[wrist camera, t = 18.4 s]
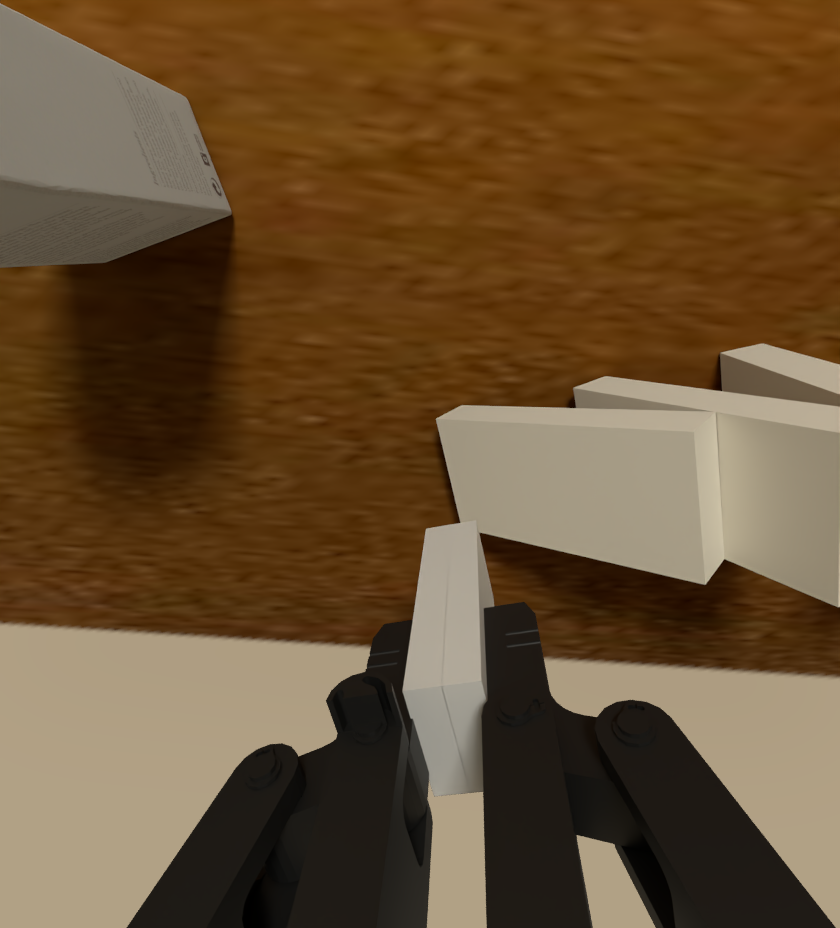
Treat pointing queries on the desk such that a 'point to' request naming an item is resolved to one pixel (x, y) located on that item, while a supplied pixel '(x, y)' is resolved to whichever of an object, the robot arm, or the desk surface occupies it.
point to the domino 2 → (761, 476)
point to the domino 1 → (592, 482)
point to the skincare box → (92, 154)
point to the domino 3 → (780, 375)
